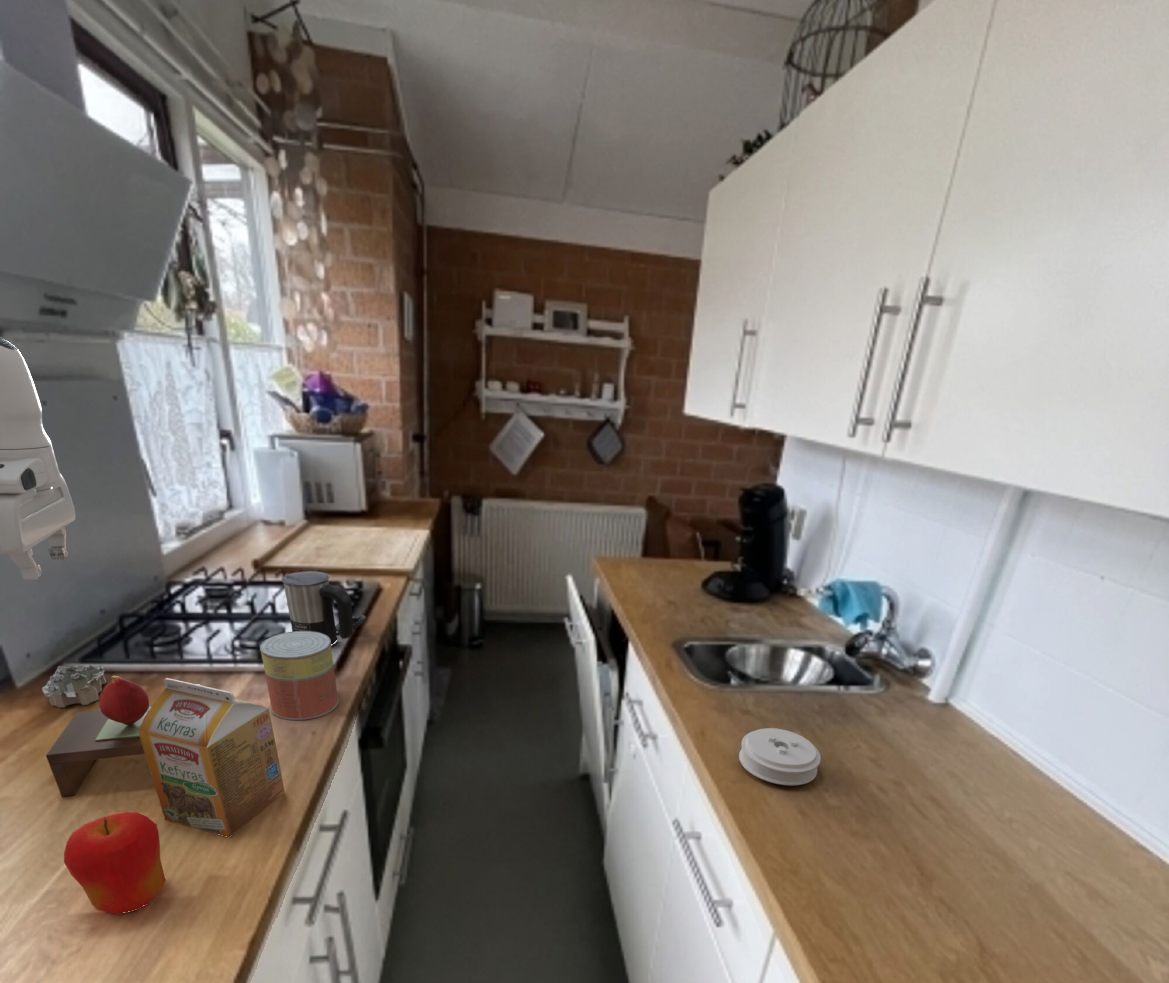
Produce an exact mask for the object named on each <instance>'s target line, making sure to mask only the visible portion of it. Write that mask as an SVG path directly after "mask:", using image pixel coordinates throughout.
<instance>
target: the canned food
mask: <svg viewBox="0 0 1169 983" xmlns="http://www.w3.org/2000/svg"><path fill="white" fill-rule="evenodd" d="M259 651H260V654H261V658H262V664H263V670H264V675H265V681H266V685H267V692H268V697H269V702H270V711H271V713H272V714H273V715H274V716H276V717H278V718H280V719H283V720H289V721H304V720H305V721H307V720H310V719H316V718H319V717H322V716H325V715H327V714H329V713H330V712H332V711H334V710H335V709H336V708H337V707H338V705H339V702H340V699H339V696H338V690H337V681H336V673H335V666H334V659H333V651H332V647H331V639H330V638H329V637H328V636H327V635H325V634H322V633H319V632H313V631H294V632H292V631H288V632H283V633H279V634H275V635H273V636H270V637H268V638H266V639H265V640H263V641H262V642H261V644H259Z"/></svg>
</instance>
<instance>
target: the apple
mask: <svg viewBox="0 0 1169 983" xmlns="http://www.w3.org/2000/svg"><path fill="white" fill-rule="evenodd" d="M63 864H64V865H65V867H66V869H67V871H68V873H69V874H70V875H71V877H72V878H73V879H74V880H75V881H77V883H78V884H79V885H80V887H81V888H82V889H83V891H84V893H85V895H86V897H87V898H88V900H89V902H90V904H91V906H93V907H94V908H95V909H96V910H97V911H99V912H104V913H105V912H106V913H111V914H116V913H122V914H124V913H123V912H128V911H132V910H135V909H138V908H140V907H142V906H143V905H146V904H147V905H149V904H150V903H151V902H152V901H153V900H154V899H155V897H156V896H157V895H158V893H159V892H160V891H161V889H162V888H163V886H164V884H165V881H166V876H165V872H164V868H163V863H162V860H161V842H160V832H159V828H158V824H156V823H155V822H154V821H153V820H152V819H151V818H149V817H148V815H145V814H143V813H141V812H134V811H124V812H118V813H111V814H109V815H106V816H103V817H99V818H97V819H94V820H92V821H90V822H87V823H84V824H82V825H81V826H80V827H79V828H77V829H76V830H74V831H73V832H71V834H70V836H69V837H68V839H67V841H66V843H65V848H64V851H63ZM153 898H154V899H153ZM152 899H153V900H152ZM151 900H152V901H151ZM150 901H151V902H150ZM147 905H146V906H147ZM142 908H143V907H142ZM140 909H141V908H140ZM138 910H139V909H138ZM135 911H136V910H135ZM132 912H133V911H132Z"/></svg>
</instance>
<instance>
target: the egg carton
mask: <svg viewBox="0 0 1169 983" xmlns="http://www.w3.org/2000/svg"><path fill="white" fill-rule="evenodd" d="M105 672H106V669H105V666H104V665H101V664H100V665H99V666H98V667H94V666H93V665H91V664H89V665H87V666H86V665H73V666H64V665H58V666H57V668H56V670H55V672H54V673H53V675H51V676H50V677H49V680H47V682H46V684H45V685H44V686H43V687H41V691H42V693H43V694H44V696H45V697H47V698H48V700H49V704H50V706H54V707H57V708H59V709H60V708H61V709H62V708H66V707H67V706H69V705H74V704H81V706H87V705H90V704H91V703H93V702H96V701H99V697H100V696H99V693H101V692H102V691H103V688H102V686H103V685H107V680H106V677H105Z"/></svg>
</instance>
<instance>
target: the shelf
mask: <svg viewBox="0 0 1169 983" xmlns="http://www.w3.org/2000/svg"><path fill="white" fill-rule="evenodd" d="M196 684H197V685H201V683H196ZM151 707H152V705H149V707H148V710H147V712H146V713H145V714H144V716H143V717H142V718H141V719H139V720H138V721H137V722H135V723H134V724H133V725H125V724H123V723H119V722H116V721H113V720H111V719H109V718H107V717H106V716H105V715H104V714H102V712H101V710H100V709H98V710H97V709H96V710H86V711H85V710H84V711H76V713H75V714H74V715H73V717H72V718H71V720H70V721H69V722H68V724H67V725H66V726H65V727H64V729H63V731H62V732H61V734H60V735H59V736H58V738H56V740H55V742H54V743H53V744H52V746H51V747H50V748H49V750H48V752H46V754H45V757H46V759H47V762H48V765H49V768H50V770H51V773H52V775H53V777H54V780H55V783H56V785H57V788H58V790H59V793H60V796H61V797H62V798H64V797H74V796H75V795H76V794H77V792H78V790H79V788H80V787H81V785H82V784H83V782H84V780H85V778H86V777H87V776H88V773H89V772H90V771H91V768H92V767H93V765H94V763H95V762H96V760H102V759H110V758H111V759H112V758H121V757H128V756H129V757H130V756H139V755H145V752H144V749H143V746H142V742H141V739H140V736H139V733H138V729H139V727H140V725H141V723H142V721H143V719H144V717H145V716H146V714H147V713H148V711H149V710H150V708H151Z"/></svg>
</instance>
